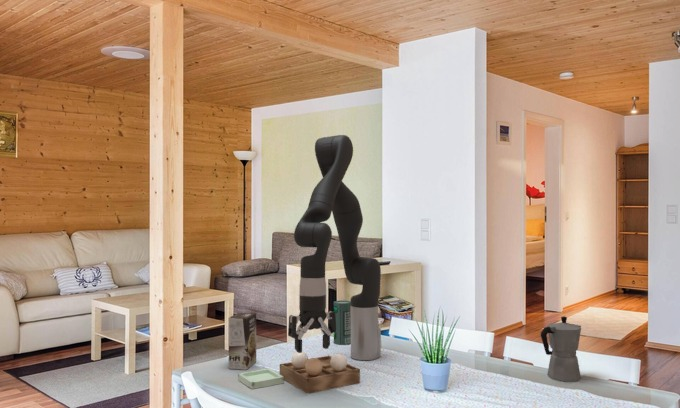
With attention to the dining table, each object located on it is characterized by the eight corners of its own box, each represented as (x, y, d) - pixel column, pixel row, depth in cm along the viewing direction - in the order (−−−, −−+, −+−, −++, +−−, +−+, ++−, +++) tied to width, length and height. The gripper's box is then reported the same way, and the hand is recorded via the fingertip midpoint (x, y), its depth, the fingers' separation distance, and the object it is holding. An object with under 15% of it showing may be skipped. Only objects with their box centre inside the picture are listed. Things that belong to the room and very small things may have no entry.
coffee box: (247, 370, 185) (247, 318, 184) (227, 369, 186) (227, 317, 186) (257, 362, 194) (256, 312, 193) (238, 361, 195) (238, 311, 195)
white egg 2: (341, 367, 177) (341, 350, 177) (350, 371, 172) (350, 354, 172) (326, 370, 174) (326, 353, 174) (335, 374, 170) (335, 357, 170)
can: (340, 340, 222) (340, 299, 222) (354, 342, 219) (353, 301, 218) (330, 343, 217) (330, 302, 217) (344, 345, 214) (344, 304, 214)
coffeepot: (567, 370, 183) (567, 311, 183) (592, 378, 175) (593, 317, 175) (529, 377, 177) (529, 316, 176) (553, 386, 168) (554, 322, 168)
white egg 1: (303, 365, 179) (303, 348, 179) (311, 369, 175) (311, 352, 175) (288, 367, 177) (288, 350, 177) (296, 371, 172) (296, 354, 172)
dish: (269, 374, 180) (269, 368, 180) (283, 383, 172) (283, 376, 172) (238, 379, 175) (238, 373, 175) (251, 389, 167) (251, 382, 167)
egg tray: (329, 368, 186) (329, 355, 186) (359, 382, 172) (359, 369, 172) (279, 377, 177) (279, 364, 177) (307, 393, 163) (307, 379, 163)
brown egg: (317, 372, 172) (316, 354, 172) (325, 376, 168) (325, 358, 168) (301, 374, 170) (301, 357, 170) (310, 379, 165) (310, 361, 165)
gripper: (327, 289, 176) (327, 344, 176) (284, 293, 168) (283, 350, 168) (341, 292, 169) (340, 350, 169) (296, 296, 162) (296, 356, 162)
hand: (312, 350), depth 169 cm, fingers open, 8 cm apart
